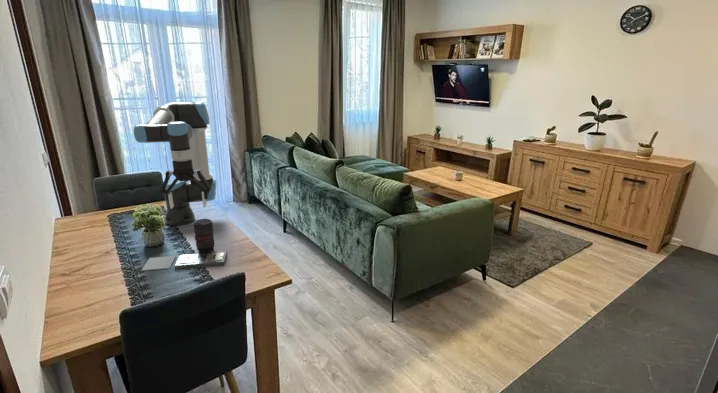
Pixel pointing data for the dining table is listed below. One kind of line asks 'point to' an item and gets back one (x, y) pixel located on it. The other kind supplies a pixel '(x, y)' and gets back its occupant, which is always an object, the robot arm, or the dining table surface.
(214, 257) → the psu chassis
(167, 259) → the rubber mat
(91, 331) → the dining table surface
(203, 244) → the camera lens
